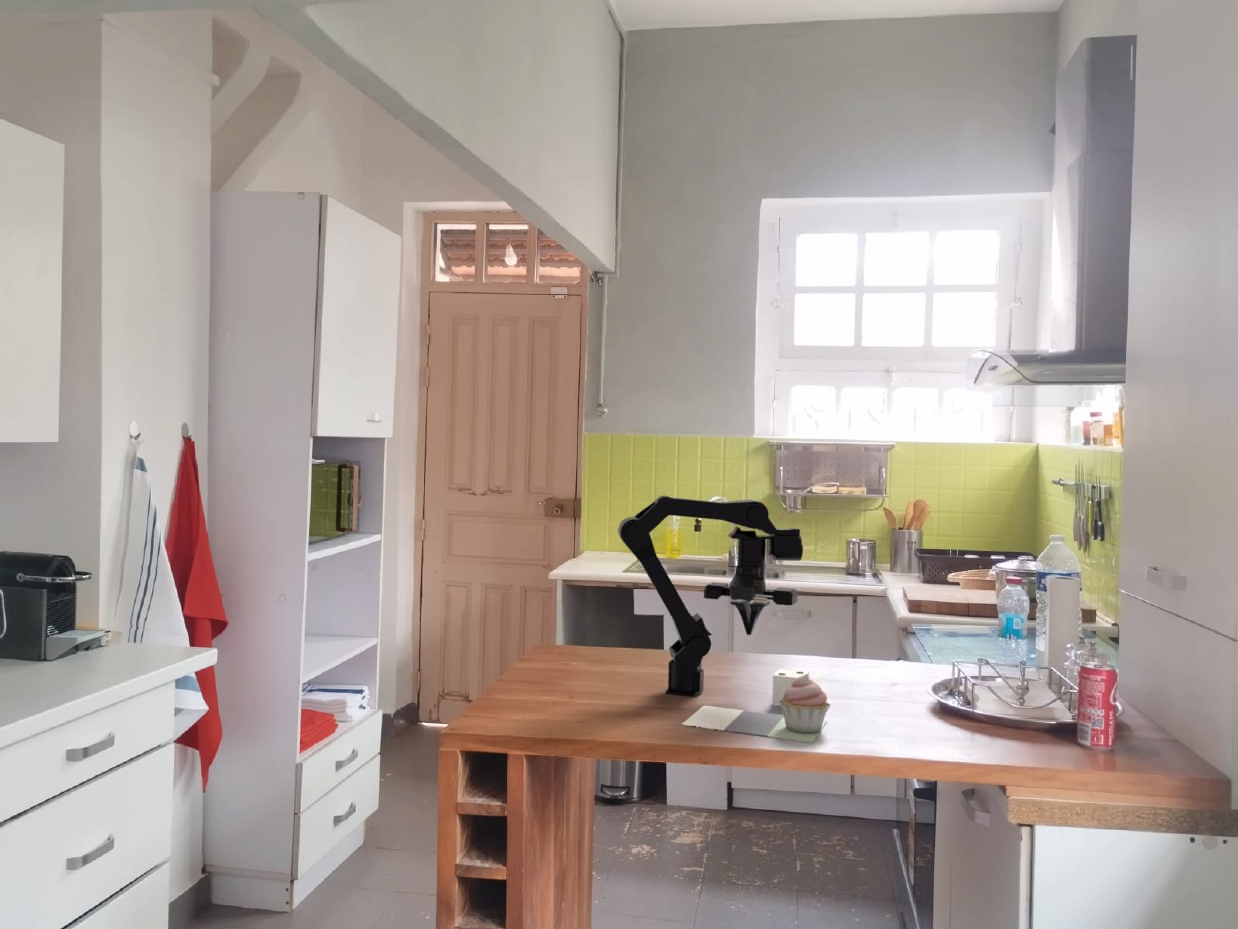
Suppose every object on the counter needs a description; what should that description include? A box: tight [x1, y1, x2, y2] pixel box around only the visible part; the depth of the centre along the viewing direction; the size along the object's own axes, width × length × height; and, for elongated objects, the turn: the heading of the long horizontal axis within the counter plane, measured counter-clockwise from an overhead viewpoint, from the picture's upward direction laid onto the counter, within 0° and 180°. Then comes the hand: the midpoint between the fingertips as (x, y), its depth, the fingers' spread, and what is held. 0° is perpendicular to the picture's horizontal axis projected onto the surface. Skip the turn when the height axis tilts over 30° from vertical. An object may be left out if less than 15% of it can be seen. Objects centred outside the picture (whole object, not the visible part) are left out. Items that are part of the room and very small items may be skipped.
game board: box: [681, 705, 828, 744], centre depth 181 cm, size 24×14×1 cm, turn 68°
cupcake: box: [779, 674, 831, 733], centre depth 178 cm, size 9×9×10 cm
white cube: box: [771, 668, 810, 707], centre depth 196 cm, size 6×6×6 cm
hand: (749, 634), depth 204 cm, fingers closed
